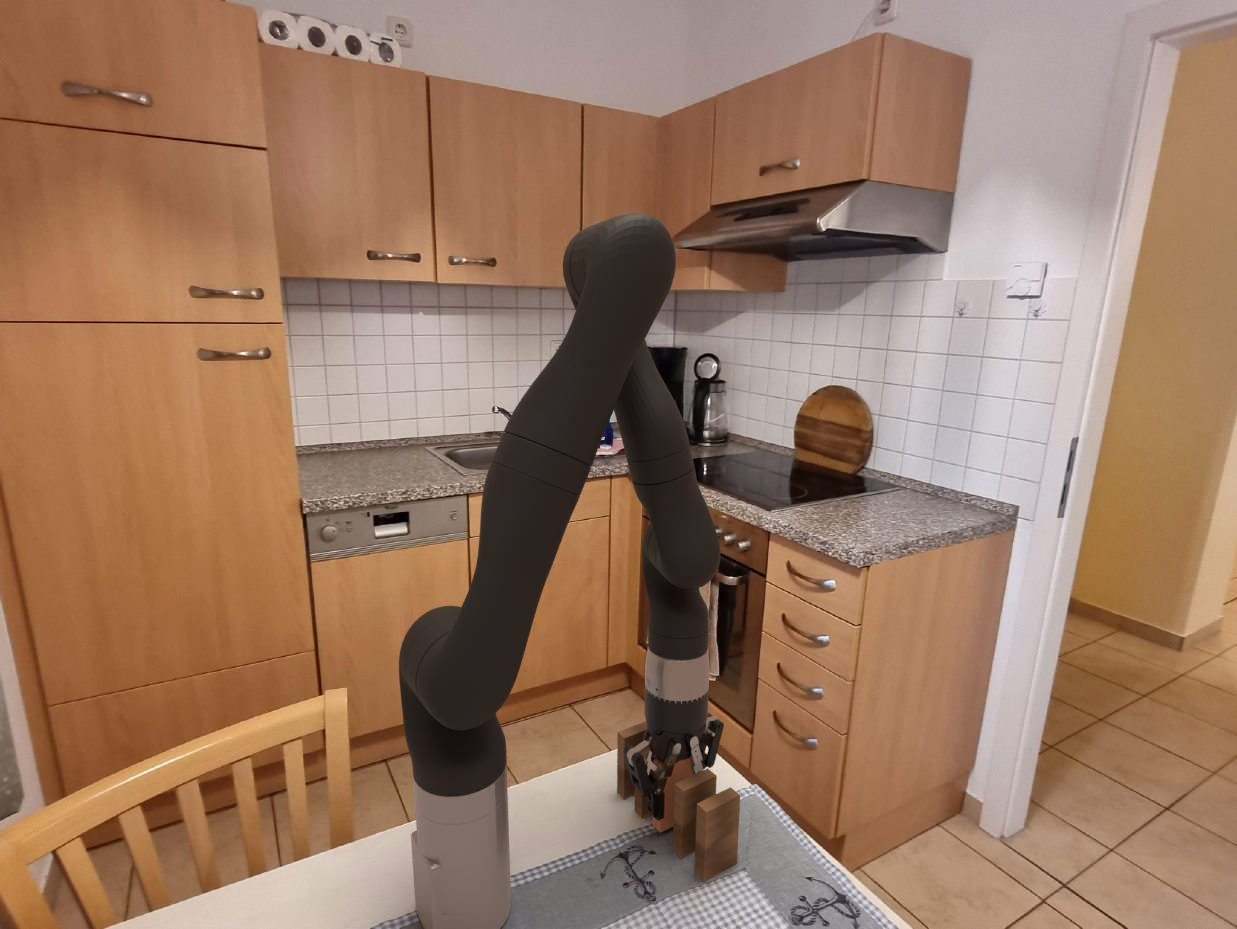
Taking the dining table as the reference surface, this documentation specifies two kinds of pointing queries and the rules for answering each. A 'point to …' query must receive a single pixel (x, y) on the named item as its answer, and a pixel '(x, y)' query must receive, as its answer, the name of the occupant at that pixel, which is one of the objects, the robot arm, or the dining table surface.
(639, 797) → the domino
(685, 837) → the domino
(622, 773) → the domino
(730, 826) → the domino
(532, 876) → the dining table surface
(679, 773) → the domino
